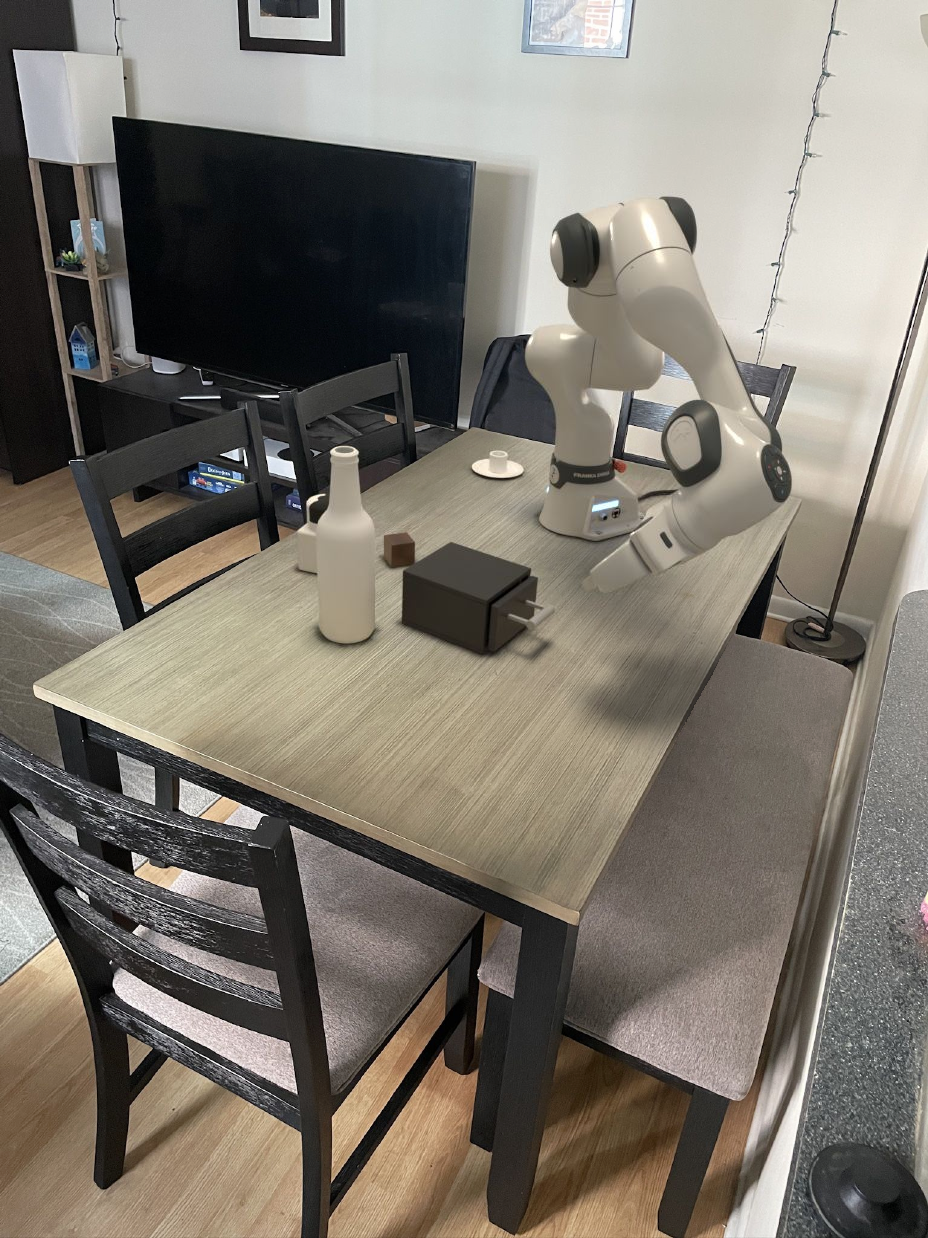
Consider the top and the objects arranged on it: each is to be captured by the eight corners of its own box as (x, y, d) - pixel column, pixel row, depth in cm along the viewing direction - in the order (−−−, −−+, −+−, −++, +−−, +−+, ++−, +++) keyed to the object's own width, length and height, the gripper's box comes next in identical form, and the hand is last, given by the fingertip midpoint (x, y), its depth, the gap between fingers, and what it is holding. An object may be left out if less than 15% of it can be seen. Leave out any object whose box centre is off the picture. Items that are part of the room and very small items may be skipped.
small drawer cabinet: (526, 619, 148) (531, 568, 143) (482, 654, 138) (486, 600, 133) (448, 591, 155) (450, 541, 150) (401, 622, 145) (402, 570, 140)
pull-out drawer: (560, 629, 144) (566, 586, 140) (522, 662, 135) (527, 618, 131) (460, 593, 153) (462, 552, 149) (417, 622, 144) (419, 579, 140)
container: (355, 560, 163) (355, 494, 157) (337, 578, 157) (335, 510, 150) (317, 552, 165) (315, 487, 159) (297, 570, 159) (294, 502, 152)
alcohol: (385, 636, 141) (386, 455, 126) (334, 650, 137) (329, 464, 121) (359, 612, 147) (358, 436, 132) (310, 624, 143) (302, 444, 128)
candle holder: (474, 459, 212) (475, 442, 210) (524, 464, 211) (526, 446, 209) (469, 478, 202) (470, 459, 199) (522, 482, 201) (523, 464, 199)
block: (406, 554, 167) (406, 532, 164) (414, 564, 163) (415, 542, 161) (383, 557, 165) (383, 534, 163) (391, 567, 161) (391, 545, 159)
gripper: (692, 487, 126) (620, 532, 135) (632, 533, 111) (555, 580, 120) (716, 525, 126) (642, 567, 136) (659, 576, 111) (580, 619, 121)
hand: (601, 573), depth 128 cm, fingers open, 8 cm apart
